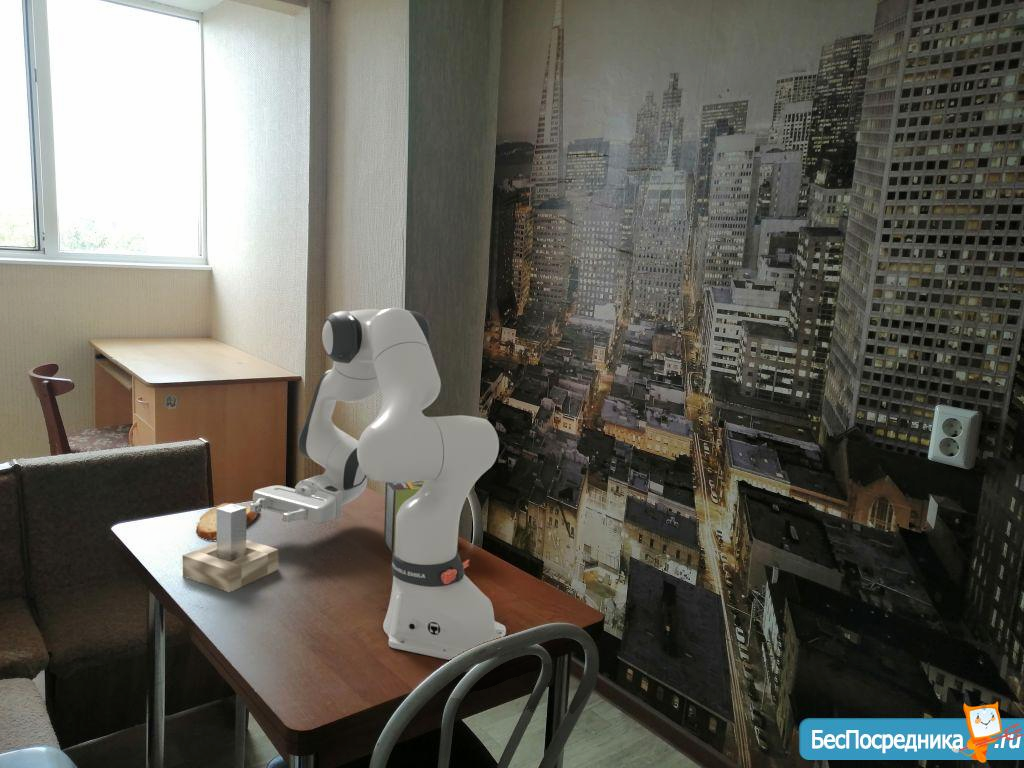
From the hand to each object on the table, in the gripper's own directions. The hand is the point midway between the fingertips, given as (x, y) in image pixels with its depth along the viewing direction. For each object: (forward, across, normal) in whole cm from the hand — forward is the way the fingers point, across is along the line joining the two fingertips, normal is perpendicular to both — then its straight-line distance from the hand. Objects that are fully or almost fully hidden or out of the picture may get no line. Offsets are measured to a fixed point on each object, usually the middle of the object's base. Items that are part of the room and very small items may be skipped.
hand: (268, 513), depth 162 cm
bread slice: (-9, -21, +10) cm, 25 cm away
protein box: (-24, +23, +10) cm, 35 cm away
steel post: (+10, 0, +10) cm, 14 cm away
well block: (+10, 0, +10) cm, 14 cm away
